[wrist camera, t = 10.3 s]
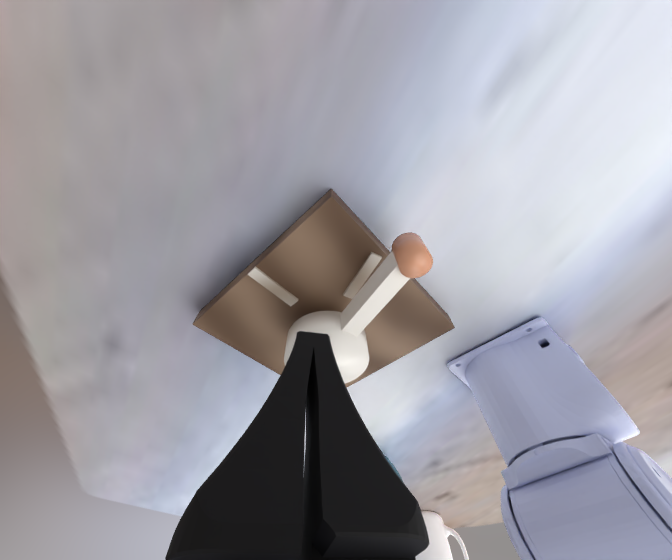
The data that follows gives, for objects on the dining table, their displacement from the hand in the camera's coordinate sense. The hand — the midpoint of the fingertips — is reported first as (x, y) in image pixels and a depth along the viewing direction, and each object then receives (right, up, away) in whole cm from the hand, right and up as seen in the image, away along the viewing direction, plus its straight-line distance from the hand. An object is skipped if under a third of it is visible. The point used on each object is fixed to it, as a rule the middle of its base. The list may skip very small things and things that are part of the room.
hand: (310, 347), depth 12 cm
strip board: (0, 0, +11) cm, 11 cm away
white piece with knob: (+2, +1, +7) cm, 8 cm away
